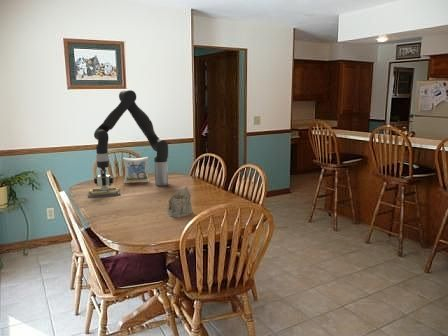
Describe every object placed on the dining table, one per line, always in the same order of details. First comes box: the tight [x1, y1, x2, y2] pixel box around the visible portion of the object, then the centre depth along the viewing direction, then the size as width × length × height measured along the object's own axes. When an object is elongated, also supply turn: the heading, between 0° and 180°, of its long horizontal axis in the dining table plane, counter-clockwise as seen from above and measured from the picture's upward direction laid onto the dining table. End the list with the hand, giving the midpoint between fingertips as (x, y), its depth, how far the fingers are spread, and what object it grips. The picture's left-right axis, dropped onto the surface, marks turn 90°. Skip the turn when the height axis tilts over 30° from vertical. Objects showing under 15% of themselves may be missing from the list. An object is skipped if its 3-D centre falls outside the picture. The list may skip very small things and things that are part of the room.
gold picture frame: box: [87, 186, 122, 199], centre depth 253 cm, size 20×14×3 cm
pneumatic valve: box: [93, 174, 115, 192], centre depth 252 cm, size 6×12×12 cm, turn 96°
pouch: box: [122, 155, 150, 184], centre depth 286 cm, size 8×19×20 cm, turn 101°
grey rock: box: [166, 185, 193, 218], centre depth 211 cm, size 16×16×15 cm
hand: (104, 184), depth 252 cm, fingers open, 8 cm apart
